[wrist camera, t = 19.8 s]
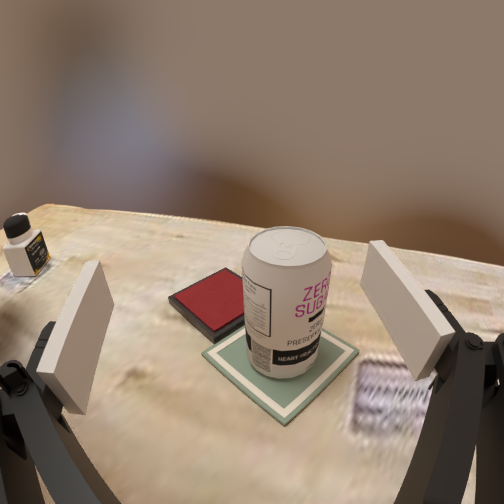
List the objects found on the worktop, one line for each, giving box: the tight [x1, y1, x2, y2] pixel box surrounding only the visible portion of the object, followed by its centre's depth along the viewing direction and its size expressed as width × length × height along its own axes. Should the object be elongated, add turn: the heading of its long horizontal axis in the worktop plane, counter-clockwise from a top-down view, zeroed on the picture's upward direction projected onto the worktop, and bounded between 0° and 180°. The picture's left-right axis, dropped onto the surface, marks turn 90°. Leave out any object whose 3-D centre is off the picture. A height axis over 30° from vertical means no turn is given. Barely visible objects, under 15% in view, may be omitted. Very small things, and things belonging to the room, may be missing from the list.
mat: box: [201, 325, 359, 426], centre depth 35 cm, size 14×14×1 cm
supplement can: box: [242, 226, 332, 379], centre depth 31 cm, size 8×8×15 cm
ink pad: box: [168, 267, 245, 344], centre depth 44 cm, size 11×11×2 cm
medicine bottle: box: [3, 213, 50, 277], centre depth 50 cm, size 7×7×12 cm
